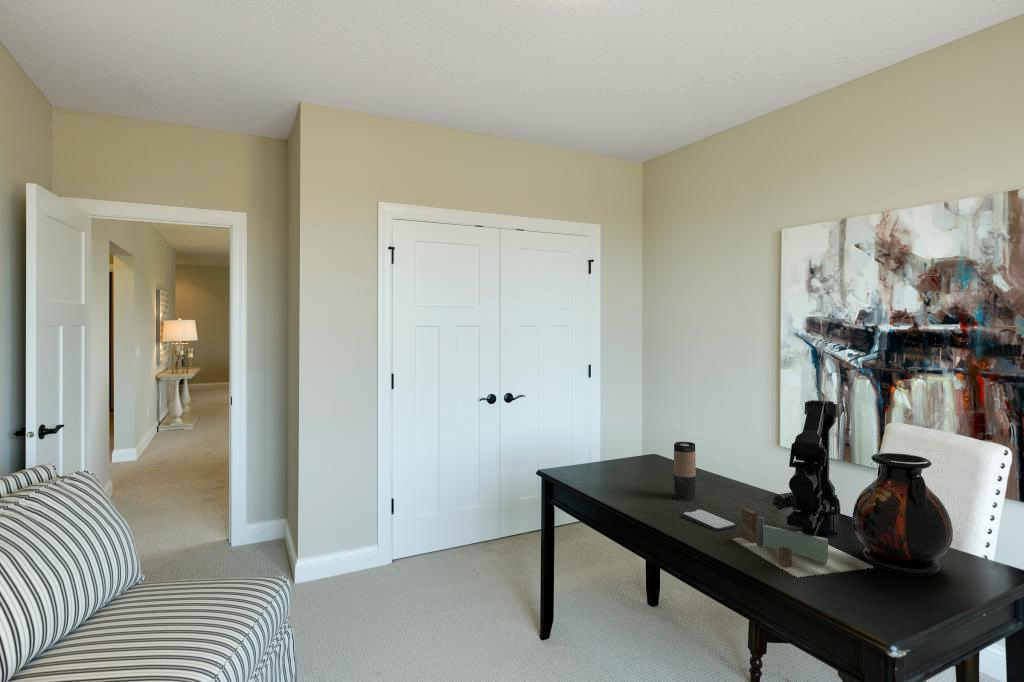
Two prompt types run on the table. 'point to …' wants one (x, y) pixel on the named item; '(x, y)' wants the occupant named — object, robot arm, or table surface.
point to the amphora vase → (902, 518)
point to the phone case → (709, 520)
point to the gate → (791, 541)
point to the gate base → (800, 564)
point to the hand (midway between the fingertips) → (808, 543)
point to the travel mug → (684, 470)
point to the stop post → (785, 557)
